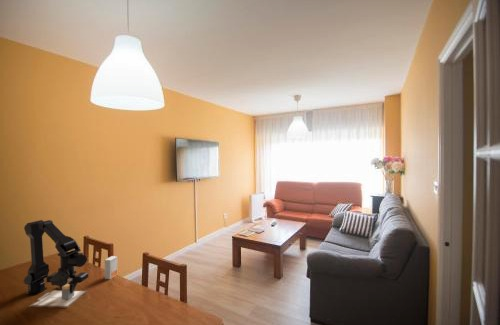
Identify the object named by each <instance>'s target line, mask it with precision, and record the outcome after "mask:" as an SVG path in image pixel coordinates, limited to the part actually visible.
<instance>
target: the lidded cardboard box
mask: <svg viewBox="0 0 500 325" xmlns="http://www.w3.org/2000/svg"><path fill="white" fill-rule="evenodd" d="M74 291H75V290H74ZM74 291H73V293H72V294H71V293H70V285H69V284H68V283H67V284H66V285H64V286H63V287H62V299H70V298H71V297H72V296H74Z"/></svg>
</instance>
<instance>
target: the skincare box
mask: <svg viewBox="0 0 500 325" xmlns="http://www.w3.org/2000/svg"><path fill="white" fill-rule="evenodd" d="M117 275H118V256H115V255H111V256H109V257H107V258H106V259H104V279H105V280H112V279H113V278H114V277H116V276H117Z"/></svg>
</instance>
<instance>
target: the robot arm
mask: <svg viewBox="0 0 500 325" xmlns="http://www.w3.org/2000/svg"><path fill="white" fill-rule="evenodd" d="M23 227H24V228H23V229H24V232H25V235H26V236H27V237H28V238H29V241H30V257H31V259H30V260H31V265H30V266H29V268H28V270H27V275H26V277H25V278H24V279H23V283H24V284H25V285H27V288H28V291H27V292H25V295H31V296H33V295H35V296H37V295H38V294H40V293H41V292H43V291H45V290H47V289H48V287H47V286H46V285H45V284H46V283H50V284H51V286H57V287H58V286H60V288H61V289H60V290H62V287H63V286H64V285H66V284H67V281H69V280H70V281H71V282H69V283H68V284H69V285H70V293H71V294H72V293H73V291H75V289H76V287H77V284H81V283H82V282H84V281H85V280H87V279H88V278H89V272H79V273H78V274H77V270H75V267H76V268H77V267H78V268H81V267H83V266H85V264H87V260H88V258H87V256H86V255H85V254H84V252H81V247H80V245H78V242H77V241H76V240H75V239H74V238H72V237H71V236H67V235H66V234H64V233H63V232H62V231H61V230H60V229H59V228H58V227H57V226H56V225H55V224H54V222H53V220H50V219H48V220H43V219H40V220H35V221H30V222H28V223H26V224H25V225H24V226H23ZM45 234H46V235H47V236H48V237H49V239H51V240H52V241H53V242H54V243H55V247H54V248H55V249H56V250H57V252H58V254H57V257H59V258H60V261H59V262H60V264H59V265H60V267H59V268H58V269H57V271H55V272H52V273H51V274H49V272H50V268H49V266H50V265H49V263H46V261H44V260H45V259H44V244H43V243H44V242H43V235H45ZM45 280H46V283H45Z"/></svg>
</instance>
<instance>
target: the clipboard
mask: <svg viewBox="0 0 500 325" xmlns="http://www.w3.org/2000/svg"><path fill="white" fill-rule="evenodd" d="M88 291H89V290H74V296H72V297H71V298H70V299H62V290H61V289H53V290H52V291H50V292H47V293H45V294H43V295H42V296H40V297H39V298H37V299H36V301H34V302H33V303H32V304H30V305H28V307H29V308H52V309H53V308H55V309H56V308H58V309H59V308H60V309H61V308H62V309H68V308H69V307H71V305H73V304H74V303H75V302H77V301H78V300H79V299H80V298H81V297H83V296H84V295H85V294H87V293H88Z"/></svg>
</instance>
